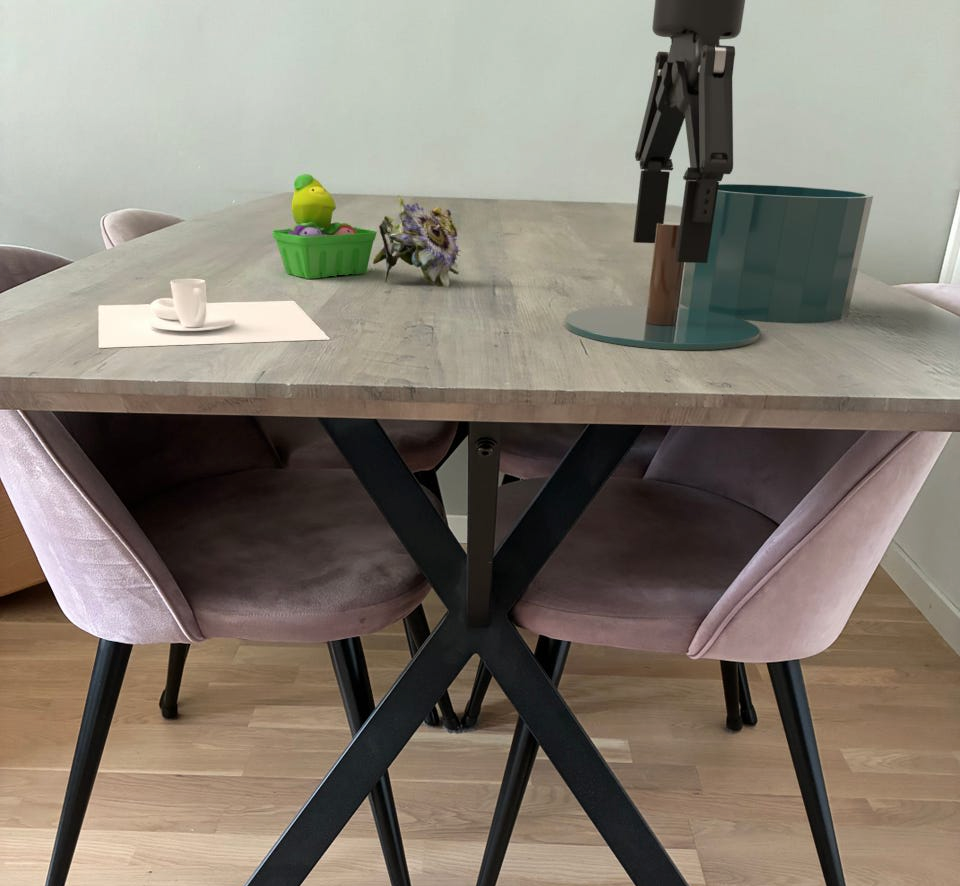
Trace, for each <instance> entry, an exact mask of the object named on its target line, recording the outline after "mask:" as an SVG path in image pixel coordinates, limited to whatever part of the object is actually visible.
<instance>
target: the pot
mask: <svg viewBox="0 0 960 886" xmlns="http://www.w3.org/2000/svg"><path fill="white" fill-rule="evenodd" d="M873 199H874V196H873V195H872V194H870V193H865V192H859V191H853V190H852V191H851V190H842V189H835V188H822V187H810V186H809V187H808V186H793V185H777V184H776V185H775V184H774V185H773V184H751V183H750V184H749V183H747V184H746V183H719V186H718V193H717V200H716V206H715V213H714V220H713V227H712V233H711V240H710V247H709V254H708V260H707V263H689V262H684V269H683V277H682V284H681V292H680V300H679V305H682V306H684V308H686V309H693V310H700V311H707V312H713V313H718V314H723V315H727V316H732V317H735V318H739V319H742V320H745V321H752V322H761V323H775V324H776V323H777V324H819V323H821V324H822V323H830V322H835V321H841V320H843V319H845V318H847V317H848V316H849V311H850V308H851V304H852V298H853V294H854V293H853V292H854V289H855V285H856V284H855V283H856V279H857V274H858V270H859V265H860V260H861V255H862V250H863V246H864V241H865V237H866V232H867V227H868V223H869V217H870V213H871V208H872V205H873V204H872V203H873Z"/></svg>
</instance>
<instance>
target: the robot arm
mask: <svg viewBox="0 0 960 886" xmlns="http://www.w3.org/2000/svg"><path fill="white" fill-rule="evenodd" d="M745 4H746V0H654V9H653V17H652V32H653V34H654V35H656V36H658V37H662V38H669V39H670V40H671V42H670V43H671V44H670V46H669V51H657V53H656V56H655V59H654V60H655V61H654V62H655V63H654V71H653V78H652V83H651V86H650V91H649V94H648V99H647V104H646V108H645V112H644V116H643V119H642V120H643V121H642V125H641V128H640V133H639V137H638V142H637V144H636V145H637V146H636V150H635V153H634V159H635V161H636V162H639V169H640V177H639V185H638V186H639V187H638V195H637V204H636V214H635V221H634V231H633V239H632V242H633V243H634V244H635V243H636V244H655V235H656V226H657V223H658V222H665V215H666V205H667V199H668V191H669V183H670V174H671V171H673V170H674V165H673V164H674V163H673V161H672V158H671V157H672V153H673V150H674V148H675V145H676V143H677V140H678V138H679V135H680V132H681V130H682V126H683V124H684V123H685V131H686V140H687V149H688V159H689V167H687V169H686V170H685V172H684V174H683V176H682V179H683V180H684V181H685V185H684V192H683V200H682V207H681V215H680V221H679V223H680V229H679V237H678V244H677V252H676V259H675V261H676V262H684V263H685V262H689V263H707V260H708V254H709V247H710V240H711V233H712V227H713V220H714V213H715V206H716V200H717V193H718V186H719V184H720V182H722V180H723V178H724V175H731V173H732V172H733V169H734V123H733V122H734V116H733V115H734V111H733V109H734V108H733V107H734V106H733V105H734V104H733V103H734V101H733V100H734V99H733V73H734V65H735V57H736V47H735V46H734V45H721V44H720V40H732V39H736V38H737V37H738V36H739V35H740V34H741V32H742V26H743V25H742V24H743V19H744V12H745ZM684 121H685V122H684Z"/></svg>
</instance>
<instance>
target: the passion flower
mask: <svg viewBox="0 0 960 886" xmlns="http://www.w3.org/2000/svg"><path fill="white" fill-rule="evenodd" d="M397 200H398V204H399V208H400V211H401V212H400V213H399V214H398V216H399V218H400V221H401V222H400V223H399V224H397V225H393V224H392V223H393V222H394V220H395V218H393V217H390V216H388V215H385V216H384V217H383V220H382V221H381V222H382V223H380V224H379V226H378V228H379V233H380V236H381V239H382V242H383V248H381V249H380V250H379V252H378V253H377V254H376V255H375V257H374V258H373V260H372V264H373V265H376V264H378V263H380V262H382V261H384V260H385V263H384V264H385V265H384V277H385V278H384V282H385V283H387V282H388V278H389V274H390V270H391V269H392V268H393V267H395V266H396V265H397V263H398V260H399V259H401V260H402V261H403V262H404V263H406V264H408V265H409V266H414V267H416V268H420V269H421V272H422V275H423V276H424V278H425V280H426V281H427V282H428V283H430V284H431V285H435V284H436V285H437V286H438V287H449V286H450V277H449V272H452V273H453V274H455V275H459V274H460V269H459V267H458V266H459V265H458V264H457V263H456V260H457V259H458V257H461V255H459V252H461V250H460V249H459V246H458V245H457V240H458V239H457V237H458V232H457V231H458V227H457V225H456V224H455V223H454V222H453V218H452V217H451V216H452V213H451V211H450V209H445V210H444V211H445V212H444V211H443V209H442V207H441V206H437V207H435V208H434V209H430V210H429V209H428V210H427V211H426V210H425V209H424V207H421V206H419V203H418V202H414V203H412V205H410V204H407V202H406V199H405V198H404V197H403V196H402V195H400V194H399V195H398V196H397ZM386 236H387V237H388V239H387V237H386ZM388 240H389V242H388ZM457 256H458V257H457Z"/></svg>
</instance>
